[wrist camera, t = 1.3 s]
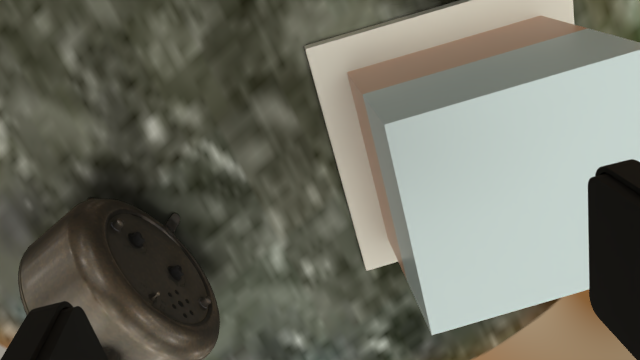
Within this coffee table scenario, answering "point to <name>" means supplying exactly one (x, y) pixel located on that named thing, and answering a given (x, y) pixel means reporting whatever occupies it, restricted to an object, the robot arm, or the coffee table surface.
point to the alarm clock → (124, 282)
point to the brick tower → (477, 147)
